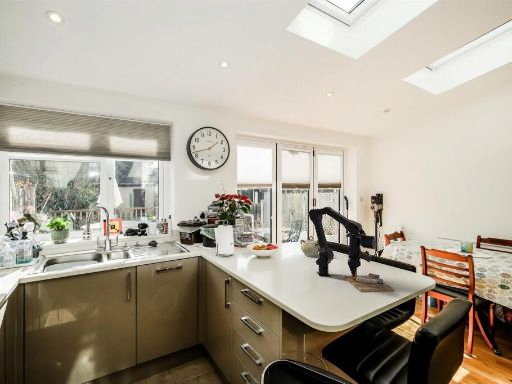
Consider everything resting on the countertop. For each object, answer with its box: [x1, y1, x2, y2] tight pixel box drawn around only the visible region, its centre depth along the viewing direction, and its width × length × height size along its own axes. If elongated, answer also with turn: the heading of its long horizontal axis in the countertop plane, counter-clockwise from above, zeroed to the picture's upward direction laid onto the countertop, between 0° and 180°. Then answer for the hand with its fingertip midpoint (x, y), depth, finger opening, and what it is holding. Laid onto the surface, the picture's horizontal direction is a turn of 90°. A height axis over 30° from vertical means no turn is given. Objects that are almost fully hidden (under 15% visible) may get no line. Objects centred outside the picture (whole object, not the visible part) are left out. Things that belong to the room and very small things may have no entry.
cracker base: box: [343, 272, 395, 293], centre depth 133 cm, size 20×17×4 cm
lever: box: [352, 269, 384, 284], centre depth 131 cm, size 15×3×6 cm, turn 66°
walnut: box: [368, 273, 376, 279], centre depth 135 cm, size 4×4×4 cm
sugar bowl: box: [299, 235, 320, 257], centre depth 193 cm, size 20×15×15 cm
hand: (353, 275), depth 135 cm, fingers open, 5 cm apart
